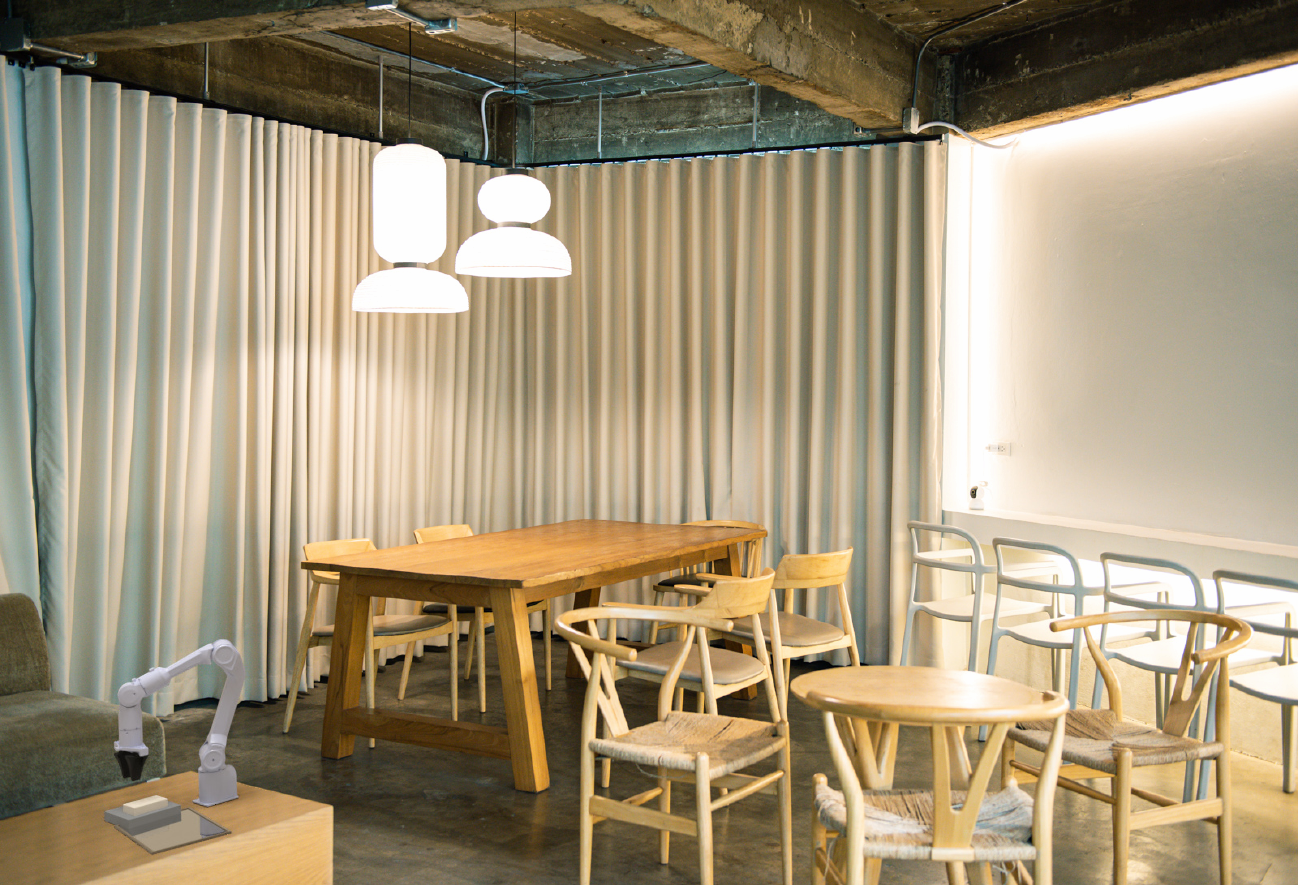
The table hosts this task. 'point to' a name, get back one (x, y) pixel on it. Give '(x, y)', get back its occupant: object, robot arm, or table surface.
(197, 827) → the picture frame
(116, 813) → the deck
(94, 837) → the table surface
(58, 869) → the table surface
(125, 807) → the tile
